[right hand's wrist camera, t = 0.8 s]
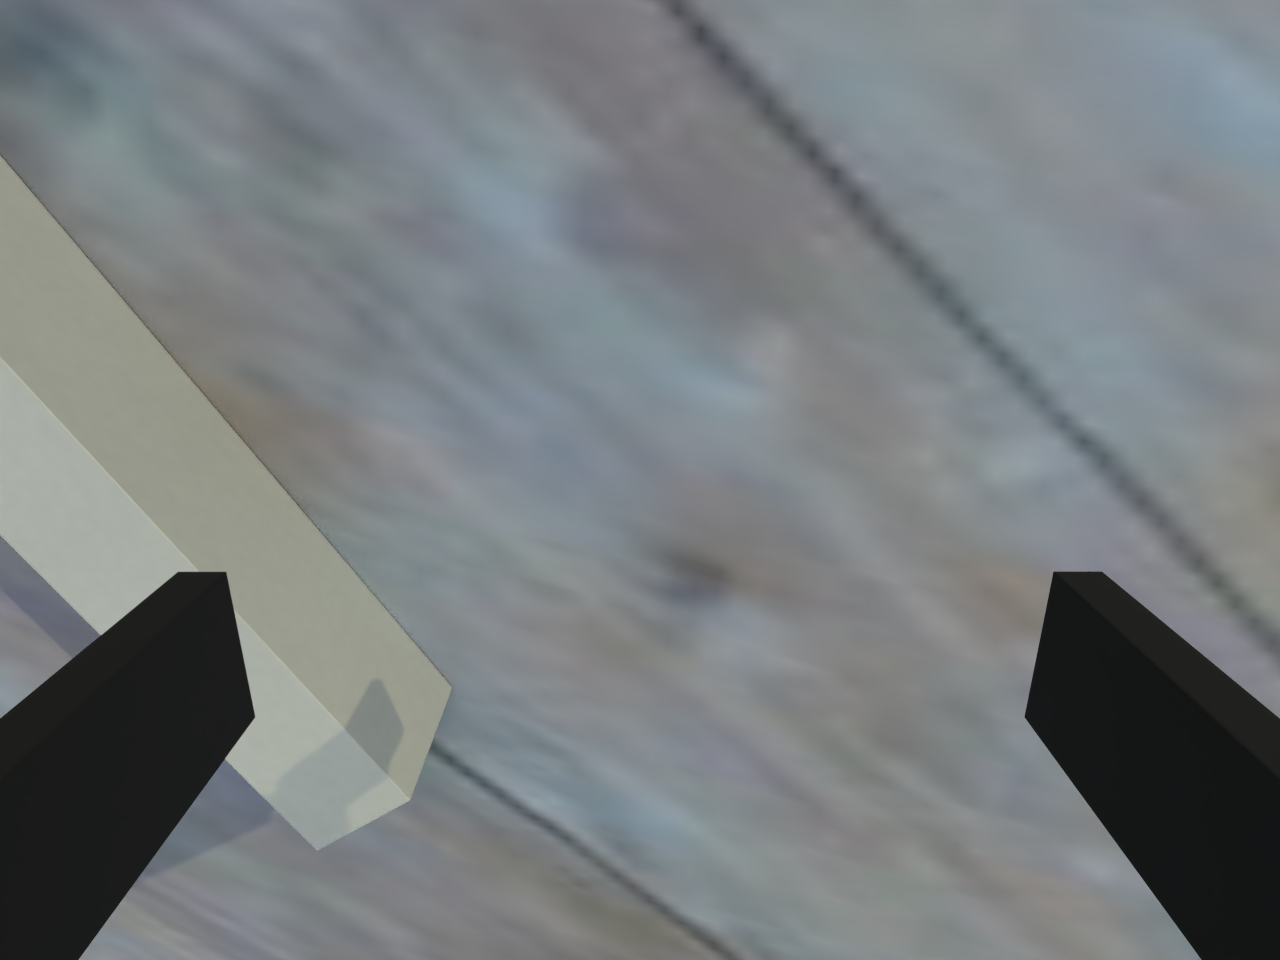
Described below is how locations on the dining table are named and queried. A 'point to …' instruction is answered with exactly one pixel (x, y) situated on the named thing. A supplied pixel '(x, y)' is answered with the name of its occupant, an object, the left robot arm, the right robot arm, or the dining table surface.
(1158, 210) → the dining table surface
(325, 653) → the bar
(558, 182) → the dining table surface
